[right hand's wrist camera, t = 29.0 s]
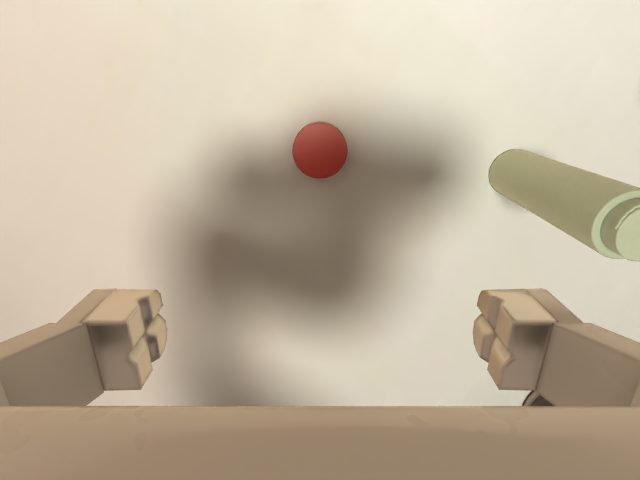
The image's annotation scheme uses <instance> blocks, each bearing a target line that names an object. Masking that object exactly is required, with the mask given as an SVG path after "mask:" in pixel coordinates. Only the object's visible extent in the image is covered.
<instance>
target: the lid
mask: <svg viewBox="0 0 640 480" xmlns="http://www.w3.org/2000/svg"><path fill="white" fill-rule="evenodd" d="M346 156H347V145H346V142H345V139H344V137H343V135H342V133H341V132H340V131H339V130H338V129H337V128H336V127H335V126H333V125H331V124H329V123H326V122H314V123H311V124H308V125H307V126H305V127H304V128H302V130H301V131H300V132H299V133H298V135H297V136H296V139H295V141H294V144H293V157H294V161H295V163H296V165H297V166H298V168H299V169H300V170H301V171H302V172H303V173H304V174H306V175H308V176H310V177H313V178H326V177H330V176H332V175H334V174H335V173H337V172H338V171H339V170H340V169H341V168H342V166H343V164H344V162H345V160H346Z"/></svg>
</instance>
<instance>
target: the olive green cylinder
mask: <svg viewBox="0 0 640 480" xmlns="http://www.w3.org/2000/svg"><path fill="white" fill-rule="evenodd" d="M489 180H490V183H491V185H492V187H493V188H494V189H495V190H496V191H497V192H499V193H501V194H502V195H504V196H506V197H507V198H509V199H511V200H512V201H514V202H516V203H517V204H519V205H521V206H522V207H524V208H525V209H527V210H529V211H530V212H532V213H534V214H535V215H537V216H539V217H540V218H542V219H544V220H545V221H547V222H549V223H550V224H552V225H554V226H555V227H557V228H559V229H560V230H562V231H564V232H565V233H567V234H569V235H570V236H572V237H574V238H575V239H577V240H579V241H580V242H582V243H584V244H585V245H587V246H588V247H590V248H592V249H593V250H595V251H597V252H598V253H600V254H602V255H604V256H606V257H608V258H614V259H624V258H625V259H628V260H631V261H640V188H638V187H635V186H632V185H629V184H626V183H623V182H619V181H616V180H613V179H610V178H607V177H604V176H601V175H598V174H595V173H592V172H589V171H585V170H582V169H579V168H576V167H573V166H570V165H567V164H564V163H561V162H558V161H555V160H551V159H548V158H545V157H542V156H539V155H536V154H533V153H530V152H527V151H524V150H520V149H513V150H509V151H506V152H504V153H502V154H501V155H499V156H498V157H497V158H496V159H495V160H494V162H493V163H492V165H491V168H490V171H489Z"/></svg>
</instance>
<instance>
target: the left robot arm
mask: <svg viewBox="0 0 640 480" xmlns="http://www.w3.org/2000/svg"><path fill="white" fill-rule="evenodd" d="M524 406H554V405H553V404H551V403H550V402H549V401H547V400H546V399H545V398H543V397H542V396H541V395H539V394H538V393H536V391H534V392H533V393H532V394H531V395H530V396H529V397H528V398H527V400H526V402H525V404H524Z"/></svg>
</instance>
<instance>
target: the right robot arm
mask: <svg viewBox="0 0 640 480" xmlns="http://www.w3.org/2000/svg"><path fill="white" fill-rule="evenodd" d="M162 306H163V303H162V298H161V294H160V293H159V292H158V291H157V290H138V289H96V290H93V291H92V292H91V293H90V294H88V295H87V296H86V297H85V298H84V299H83V300H82V301H81V302H79V303H78V304H77V305H76V306H75V307H74V308H73V309H72V310H70V311H69V312H68V313H67V314H66V315H65V316H64V317H63V318H62V319H60V320H59V321H58V322H57V323H49V324H46V325H44V326H41V327H39V328H36V329H34V330H31V331H29V332H26V333H24V334H21V335H19V336H16V337H14V338H11V339H9V340H6V341H4V342H1V343H0V480H640V343H639V342H636V341H634V340H631V339H629V338H626V337H624V336H621V335H619V334H616V333H614V332H611V331H609V330H606V329H604V328H601V327H599V326H596V325H594V324H591V323H583V322H582V321H581V320H580V319H579V318H577V317H576V316H575V315H574V314H573V313H572V312H571V311H570V310H568V309H567V308H566V307H565V306H564V305H563V304H562V303H561V302H560V301H558V300H557V299H556V298H555V297H554V296H553V295H552V294H551V293H550V292H548V291H547V290H545V289H506V290H483V291H481V293H480V295H479V298H478V303H477V306H478V308H479V309H480V311H481V314H480V315H479V316H478V318H477V319H476V320H475V321H474V327H473V339H474V345H475V348H476V351H477V353H478V355H479V356H480V358H482V359H483V360H485V361H487V362H488V363H489V364H488V369H487V370H488V372H489V373H490V375H491V377H492V378H493V380H494V382H495V383H496V385H497V387H498V388H499V390H533V391H536V393H538V394H539V395H541V396H542V397H543V398H545V399H546V400H547V401H549V402H550V403H551V404H553V405H554V406H86V405H87V404H89V403H90V402H92V401H93V400H94V399H96V398H97V397H98V396H100V395H101V394H102V393H104V391H106V390H141V389H142V387H143V385H144V384H145V382H146V380H147V378H148V377H149V375H150V373H151V372H152V370H153V369H152V364H151V363H152V362H153V361H155V360H157V359H158V358H160V356H161V355H162V353H163V351H164V348H165V344H166V340H167V326H166V321H165V320H164V319H163V318H162V316H161V315H160V314H159V311H160V309H161V308H162Z"/></svg>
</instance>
